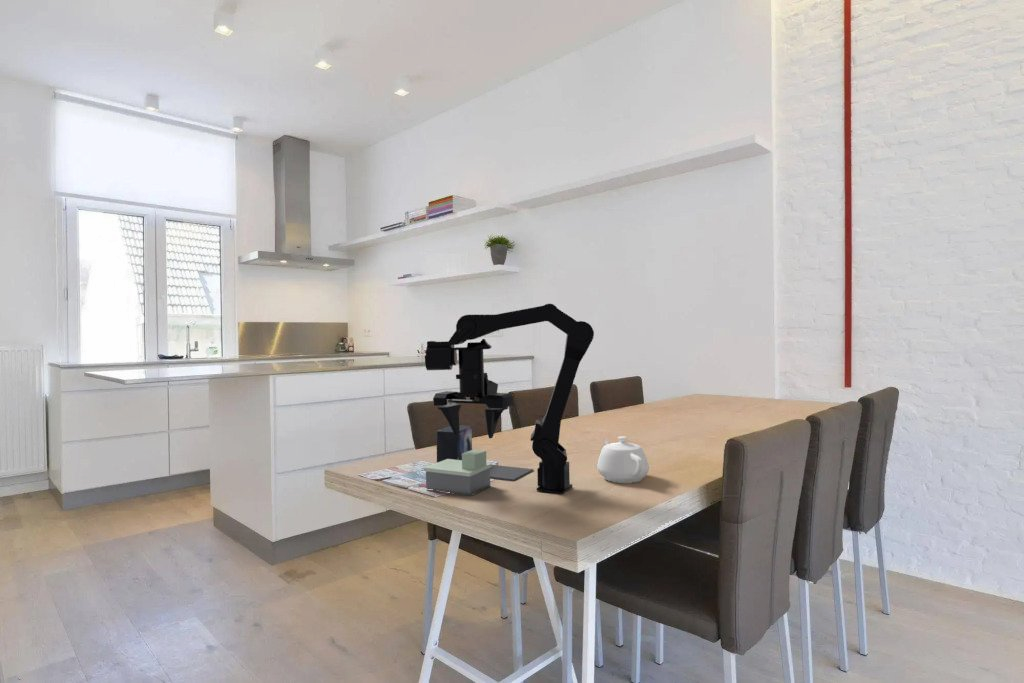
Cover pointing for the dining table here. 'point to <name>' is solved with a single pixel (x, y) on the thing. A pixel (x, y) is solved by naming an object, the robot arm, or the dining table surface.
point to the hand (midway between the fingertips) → (473, 436)
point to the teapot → (622, 462)
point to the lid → (462, 464)
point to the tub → (458, 482)
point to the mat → (508, 472)
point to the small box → (453, 443)
